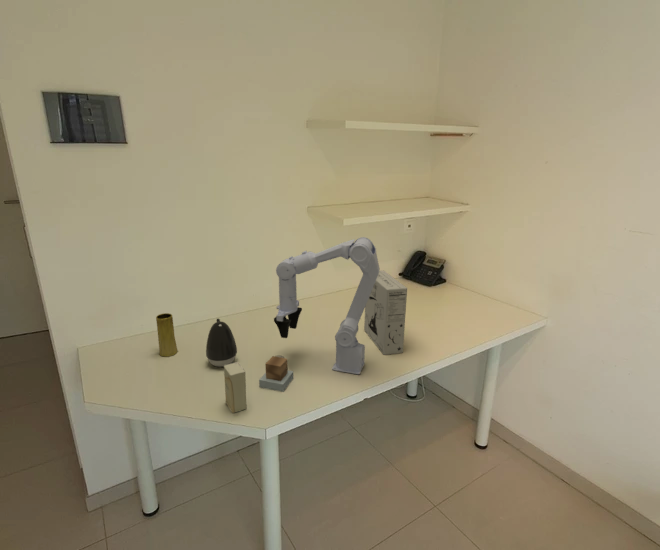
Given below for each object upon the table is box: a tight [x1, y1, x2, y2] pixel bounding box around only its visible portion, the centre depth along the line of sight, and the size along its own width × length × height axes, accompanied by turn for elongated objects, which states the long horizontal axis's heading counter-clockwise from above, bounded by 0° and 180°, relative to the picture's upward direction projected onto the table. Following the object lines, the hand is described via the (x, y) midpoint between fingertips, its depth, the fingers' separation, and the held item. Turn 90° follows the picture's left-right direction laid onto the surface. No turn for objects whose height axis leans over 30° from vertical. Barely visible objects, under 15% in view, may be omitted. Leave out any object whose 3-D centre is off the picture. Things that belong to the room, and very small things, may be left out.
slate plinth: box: [258, 370, 294, 393], centre depth 128 cm, size 8×8×3 cm
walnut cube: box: [264, 355, 288, 381], centre depth 126 cm, size 5×5×5 cm
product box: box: [363, 270, 408, 356], centre depth 153 cm, size 22×8×25 cm, turn 14°
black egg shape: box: [205, 318, 238, 368], centre depth 137 cm, size 10×10×15 cm
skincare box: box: [223, 361, 247, 414], centre depth 114 cm, size 6×4×12 cm
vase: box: [155, 312, 179, 357], centre depth 144 cm, size 6×6×14 cm
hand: (288, 332), depth 138 cm, fingers open, 7 cm apart
